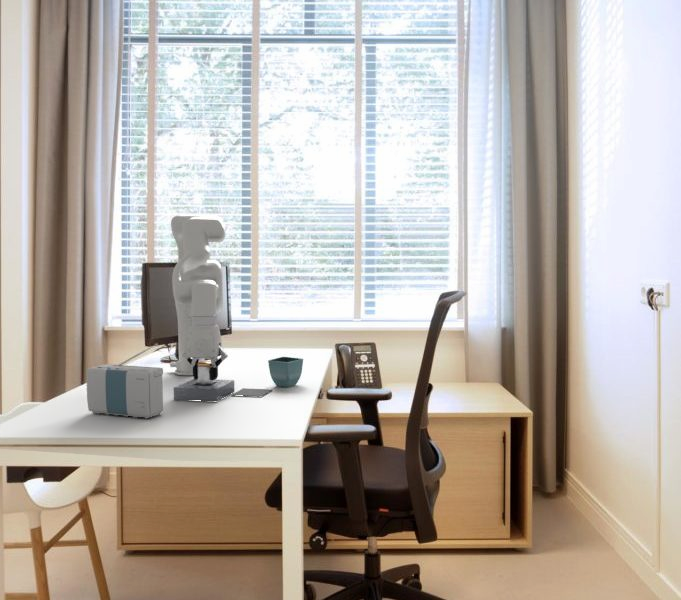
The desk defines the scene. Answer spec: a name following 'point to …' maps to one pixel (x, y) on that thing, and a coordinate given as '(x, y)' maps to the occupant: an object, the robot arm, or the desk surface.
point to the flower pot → (285, 370)
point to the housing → (204, 390)
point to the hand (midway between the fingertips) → (205, 378)
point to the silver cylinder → (204, 373)
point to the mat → (252, 392)
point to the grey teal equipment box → (125, 389)
